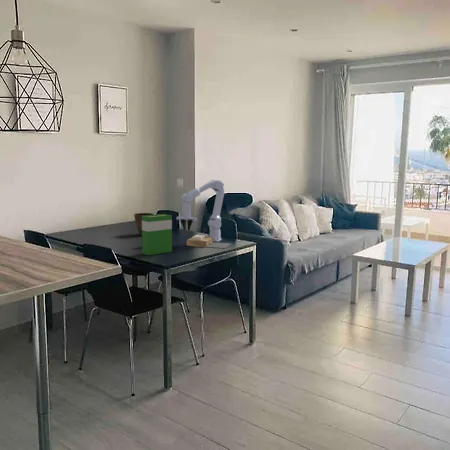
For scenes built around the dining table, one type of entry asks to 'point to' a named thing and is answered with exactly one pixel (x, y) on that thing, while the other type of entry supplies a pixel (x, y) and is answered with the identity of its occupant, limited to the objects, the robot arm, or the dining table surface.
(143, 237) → the green cereal box
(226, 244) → the charcoal mat
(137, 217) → the plant pot
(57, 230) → the dining table surface
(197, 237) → the cream tile
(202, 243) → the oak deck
